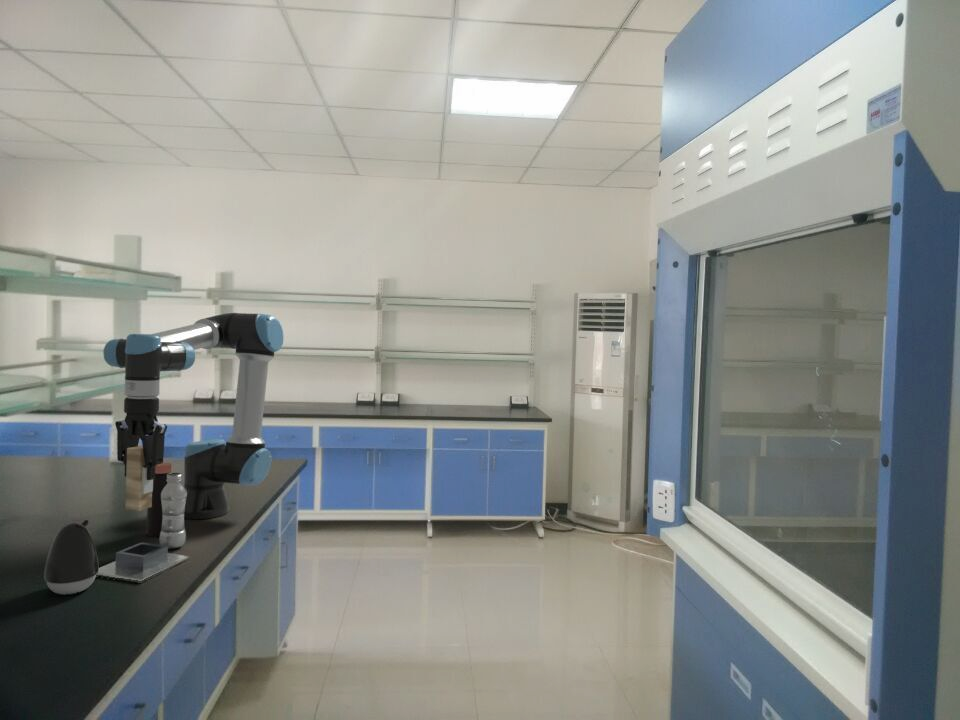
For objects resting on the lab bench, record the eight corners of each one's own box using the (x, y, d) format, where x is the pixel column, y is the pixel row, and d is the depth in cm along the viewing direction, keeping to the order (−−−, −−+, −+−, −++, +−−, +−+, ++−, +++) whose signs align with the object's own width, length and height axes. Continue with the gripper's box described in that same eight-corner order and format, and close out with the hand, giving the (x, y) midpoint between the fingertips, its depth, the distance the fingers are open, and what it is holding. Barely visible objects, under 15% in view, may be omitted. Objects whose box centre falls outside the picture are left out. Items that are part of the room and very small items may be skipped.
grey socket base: (143, 552, 162) (143, 535, 162) (188, 560, 159) (189, 542, 159) (91, 575, 147) (91, 556, 147) (140, 583, 143) (141, 564, 143)
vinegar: (169, 536, 175) (171, 467, 174) (143, 537, 174) (144, 466, 173) (176, 529, 182) (177, 461, 181) (151, 529, 180) (152, 461, 179)
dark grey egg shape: (108, 581, 144) (109, 516, 144) (80, 600, 134) (82, 531, 133) (63, 579, 144) (64, 515, 143) (32, 598, 134) (33, 529, 133)
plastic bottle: (178, 541, 172) (180, 470, 171) (190, 547, 168) (192, 474, 167) (154, 546, 167) (156, 473, 166) (165, 553, 163) (167, 478, 162)
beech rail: (138, 505, 155) (140, 445, 154) (151, 506, 154) (153, 447, 153) (125, 509, 151) (127, 448, 150) (138, 511, 150) (140, 449, 149)
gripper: (100, 395, 150) (98, 491, 151) (159, 400, 146) (156, 499, 146) (125, 393, 157) (123, 484, 158) (182, 398, 153) (179, 491, 154)
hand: (139, 491), depth 152 cm, fingers closed on beech rail, 4 cm apart
